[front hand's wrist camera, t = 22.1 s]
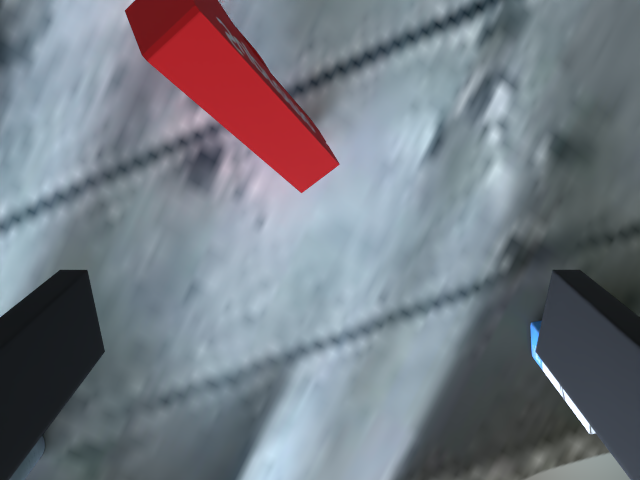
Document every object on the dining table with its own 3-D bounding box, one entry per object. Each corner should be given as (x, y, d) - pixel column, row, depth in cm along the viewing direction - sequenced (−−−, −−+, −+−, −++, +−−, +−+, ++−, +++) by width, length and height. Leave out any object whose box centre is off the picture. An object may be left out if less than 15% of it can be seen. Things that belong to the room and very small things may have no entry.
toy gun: (107, -51, 33) (136, 51, 25) (147, -92, 32) (190, 0, 24) (254, 98, 48) (303, 194, 39) (284, 73, 47) (340, 166, 38)
